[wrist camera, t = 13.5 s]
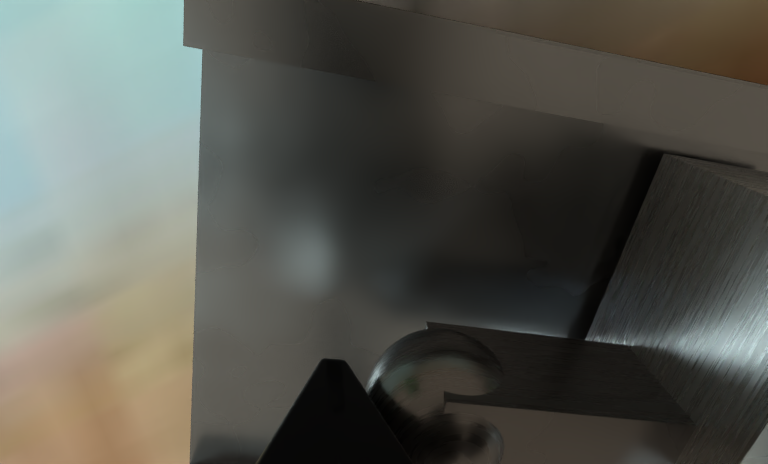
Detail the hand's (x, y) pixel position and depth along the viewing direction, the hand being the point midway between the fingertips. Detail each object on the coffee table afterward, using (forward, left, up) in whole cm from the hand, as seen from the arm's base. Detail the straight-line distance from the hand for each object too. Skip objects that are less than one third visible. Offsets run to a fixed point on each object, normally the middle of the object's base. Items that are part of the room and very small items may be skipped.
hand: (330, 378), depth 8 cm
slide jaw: (0, -4, -2) cm, 5 cm away
